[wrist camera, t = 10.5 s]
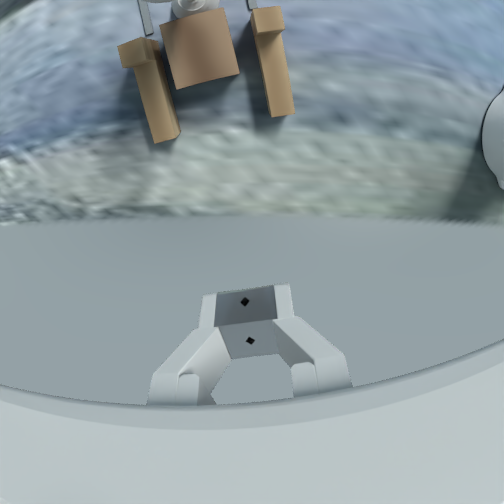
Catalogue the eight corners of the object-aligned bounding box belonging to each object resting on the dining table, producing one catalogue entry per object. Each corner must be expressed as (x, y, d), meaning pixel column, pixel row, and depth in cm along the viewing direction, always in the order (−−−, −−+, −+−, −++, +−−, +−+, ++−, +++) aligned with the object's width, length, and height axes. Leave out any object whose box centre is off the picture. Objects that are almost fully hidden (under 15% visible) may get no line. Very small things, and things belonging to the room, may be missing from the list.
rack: (272, 16, 24) (280, 5, 19) (290, 109, 30) (300, 118, 25) (137, 48, 25) (117, 46, 20) (161, 137, 31) (146, 151, 26)
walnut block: (225, 15, 24) (223, 7, 20) (239, 72, 28) (239, 73, 24) (170, 30, 24) (159, 25, 20) (185, 86, 28) (176, 89, 24)
